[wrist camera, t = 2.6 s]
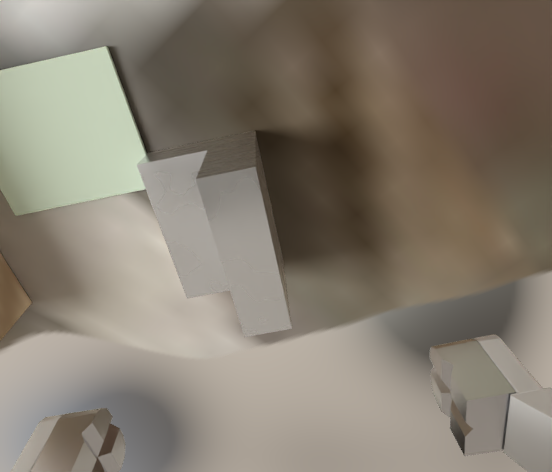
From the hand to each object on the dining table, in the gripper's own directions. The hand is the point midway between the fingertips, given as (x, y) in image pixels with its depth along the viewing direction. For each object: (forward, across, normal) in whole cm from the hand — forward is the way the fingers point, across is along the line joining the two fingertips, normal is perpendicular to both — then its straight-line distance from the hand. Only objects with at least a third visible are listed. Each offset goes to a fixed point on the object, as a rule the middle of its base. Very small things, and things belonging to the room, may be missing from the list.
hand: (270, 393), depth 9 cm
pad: (+11, +8, -6) cm, 14 cm away
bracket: (+11, +2, -1) cm, 11 cm away
